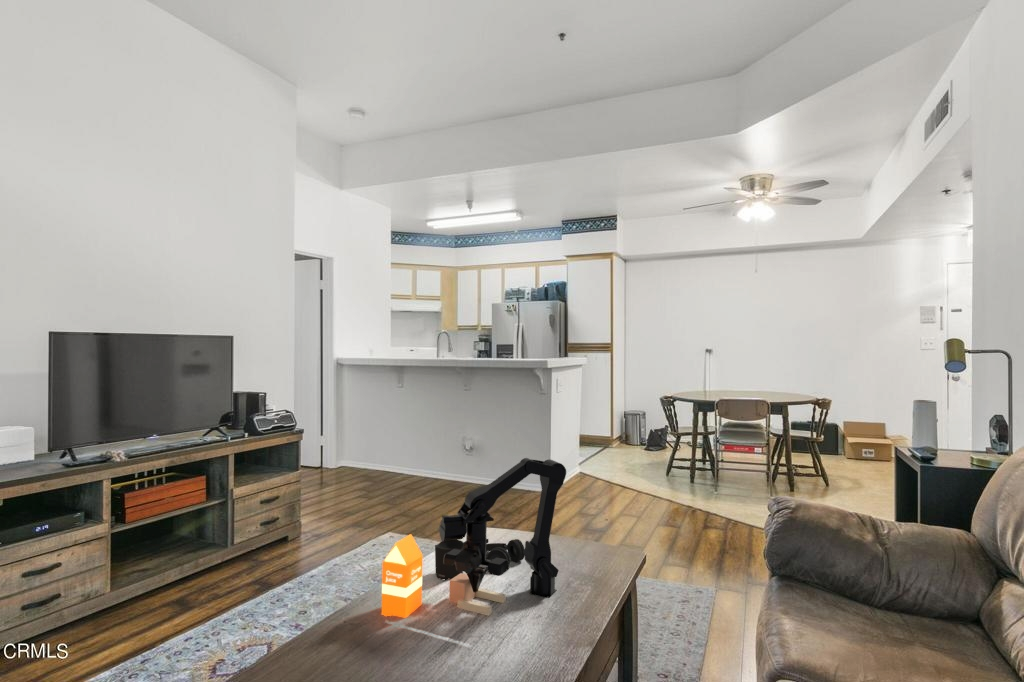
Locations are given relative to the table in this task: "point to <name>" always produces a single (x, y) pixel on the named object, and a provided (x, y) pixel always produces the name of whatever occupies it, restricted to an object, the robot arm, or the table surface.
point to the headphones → (500, 550)
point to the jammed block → (460, 588)
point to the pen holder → (441, 568)
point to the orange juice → (402, 579)
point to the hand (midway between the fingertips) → (475, 592)
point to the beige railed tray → (478, 606)
